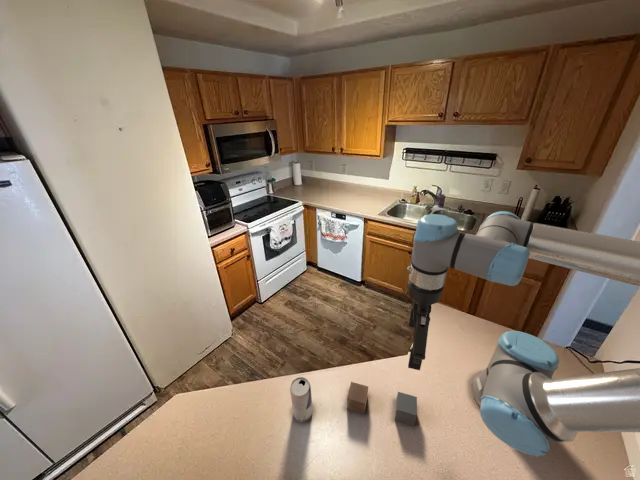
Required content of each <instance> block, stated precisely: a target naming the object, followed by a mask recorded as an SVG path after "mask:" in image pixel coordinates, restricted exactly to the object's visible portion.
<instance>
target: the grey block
mask: <svg viewBox="0 0 640 480" xmlns="http://www.w3.org/2000/svg"><path fill="white" fill-rule="evenodd" d="M417 416H418V397H417V396H415V395H411V394H408V393H404V392H401V391H397V394H396V400H395V410H394V421H397V422H400V423H404V424H406V425H410V426H412V427H414V426H415V425H416V422H417V421H416V420H417Z"/></svg>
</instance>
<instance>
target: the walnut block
mask: <svg viewBox="0 0 640 480" xmlns="http://www.w3.org/2000/svg"><path fill="white" fill-rule="evenodd" d="M368 393H369V386H367V385H365V384H362V383H361V384H360V383H358V382H354V381H350V384H349V389H348V393H347V397H346V409H348V410H350V411H354V412H356V413H360V414H362V415H366V414H365V413H366V407H367V401H368Z"/></svg>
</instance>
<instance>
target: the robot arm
mask: <svg viewBox="0 0 640 480" xmlns="http://www.w3.org/2000/svg"><path fill="white" fill-rule="evenodd" d="M458 225H459V224H458V222H457V220H456V219H454V218H453V217H449V216H448V215H445V214H439V213H438V214H437V213H432V214H426V215H423V216H421V217H420V218H419V219H418V221H417V224H416V229H415V233H414V236H413V245H412V246H413V247H412V253H411V260H410V266H407V268H406V270H407V271H409V274H408V279H407V280H408V281H407V288H406V293H407V296H408V297H409V298H410V300H412V303H411V306H412V307H411V309H410V316H409V320H408V321H409V322H408V327H410V328H413V339H412V346H411V348H408V353H409V359H408V364H407V369H412V370H417V371H421V368H422V363H423V360H424V361H425V359H426V351H427V343H428V335H429V327H430V322H431V317H430V315H431V312H432V305H435V304H438V303H439V302H440V300H442V295H443V290H444V287H445V283H446V280H447V274H448V271H449V269H452V270H456V271H459V272H462V273H465V274H468V275H471V276H474V277H476V278H480V279H483V280H487V281H488V282H490V283H498V284H501V285H505V286H508V287H515V286H517V285H519V284H520V282H521V280H522V278H523V276H524V274H525V271H526V268H527V266H528V261H529V259H530V260H533V261H537V262H542V263H545V264H548V265H549V264H550V265H553V266H558V267H562V268H566V269H568V270H574V271H578V272H582V273H586V274H589V275H594V276H597V277H601V278H605V279H610V280H613V281H616V282H617V281H618V282H621V283H625V284H630V285H633V286H637V287H640V241H638V240H632V239H628V238H621V237H616V236H610V235H605V234H601V233H600V234H599V233H594V232H589V231H582V230H577V229H571V228H566V227H561V226H555V225H549V224H543V223H538V222H532V221H528V220H524V219H521V218H520V217H519V216H517V214H515V213H513V212H511V211H506V210H500V211H495V212H493V213H490V215H489V216H487V217H486V218H485V219H484V220H483V221H482V223H481V224H480V225H479V228H478V230H477V232H476V234H472V233H466V232H463V231H460V230H459V228H458ZM559 364H560V358H559V355H558V353H557V352H556V351H555V349H554V348H553V347H552V346H551V345H549V344H548V343H547V342H545V341H544V340H542V339H541V338H539V337H537V336H535V335H534V334H533V335H532V334H530V333H527V332H523V331H520V330H508V331H505V332H503V333H502V334H501V336H500V337H499V338H498V339H497V344H496V346H495V349H494V351H493V353H492V355H491V358H490V360H489V363H488V365H487V367H486V368H484V369H482V370H481V371H479V372H478V373H477V374H476V375H475V376H474V378H473V379H472V381H471V387H470V388H471V394H472V397H473V399H474V401H475V403H476V404H477V405H478V407H479V414H480V417H481V420H482V422H483V423H484V425H485V426H486V428H487V429H488V430H489V431H490V432H491V434H493V435H494V436H495V437H496V438H497V439H498V440H500V441H501V442H503V443H504V444H506V445H507V446H509V447H510V448H512V449H514V450H516V451H518V452H520V453H522V454H525V455H528V456H529V455H530V456H531V457H544V456H545V455H547V454H548V452H549V451H550V450H551V442H563V443H565V442H566V443H568V442H573V441H574V440H575V439H576V436H577V434H578V433H640V367H637V368H636V367H635V368H628V369H619V370H611V371H604V372H597V373H588V374H579V375H572V376H571V375H570V376H564V377H555V378H553V375H554V373H555V371H557V370H558V368H559Z"/></svg>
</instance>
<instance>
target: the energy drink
mask: <svg viewBox="0 0 640 480" xmlns="http://www.w3.org/2000/svg"><path fill="white" fill-rule="evenodd" d="M289 392H290V398H291V405H292V412H293V416H294V418H295V419H296V421H298V422H301V423H303V422H307V421H308V420H310V419H311V417H312V415H313V412H314V411H313V402H312V401H313V399H312V387H311V383H310V381H309V380H308V378H306V377H303V376H299V377H296V378H294V379H293V380H292V381H291V383H290V387H289Z"/></svg>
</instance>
